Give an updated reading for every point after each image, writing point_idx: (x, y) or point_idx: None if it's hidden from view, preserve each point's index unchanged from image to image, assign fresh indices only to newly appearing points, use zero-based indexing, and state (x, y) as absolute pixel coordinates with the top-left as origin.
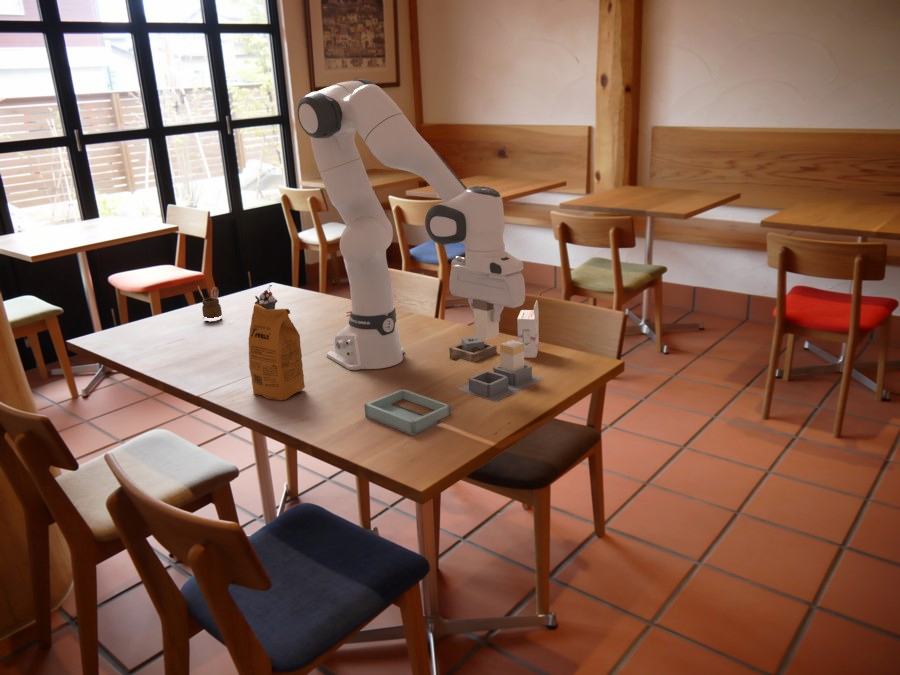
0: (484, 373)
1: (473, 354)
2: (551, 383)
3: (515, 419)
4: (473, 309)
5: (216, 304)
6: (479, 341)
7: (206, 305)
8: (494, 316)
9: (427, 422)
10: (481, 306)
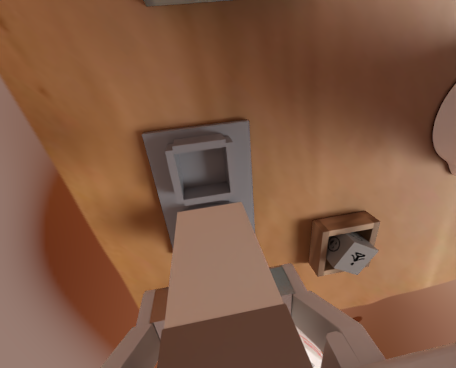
0: (229, 184)
1: (324, 231)
2: (164, 258)
3: (55, 115)
4: (302, 298)
5: None
6: (341, 263)
7: None
8: (140, 319)
9: None
10: (215, 345)
